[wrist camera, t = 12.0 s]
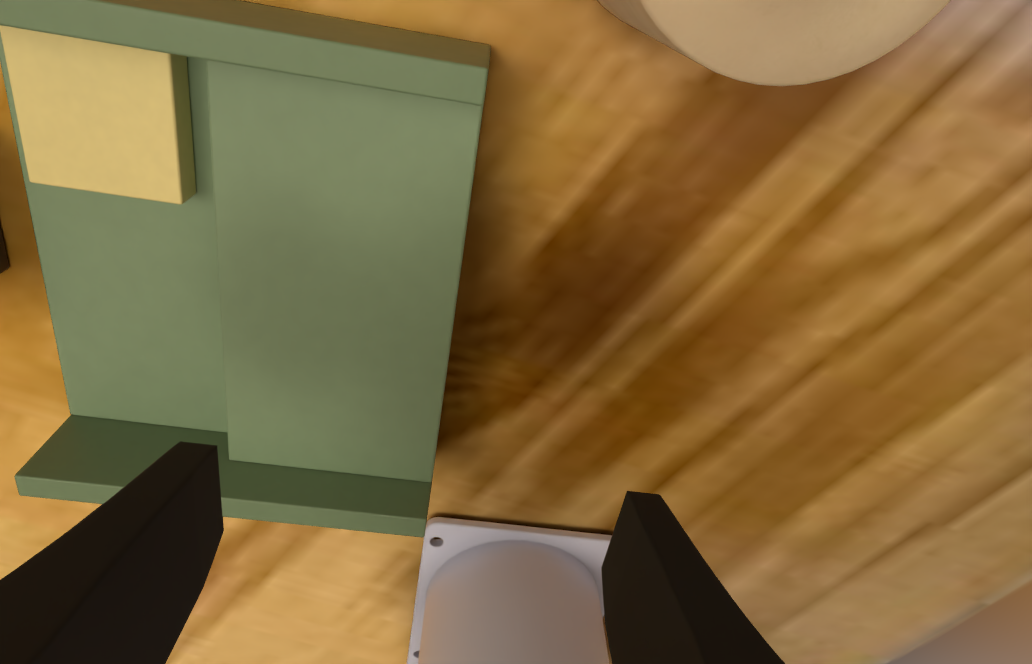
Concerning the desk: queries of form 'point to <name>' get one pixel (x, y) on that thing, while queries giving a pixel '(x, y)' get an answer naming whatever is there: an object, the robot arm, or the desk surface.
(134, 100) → the note pad
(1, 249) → the holder
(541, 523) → the desk surface
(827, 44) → the candle
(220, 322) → the shelf
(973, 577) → the desk surface
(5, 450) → the desk surface
